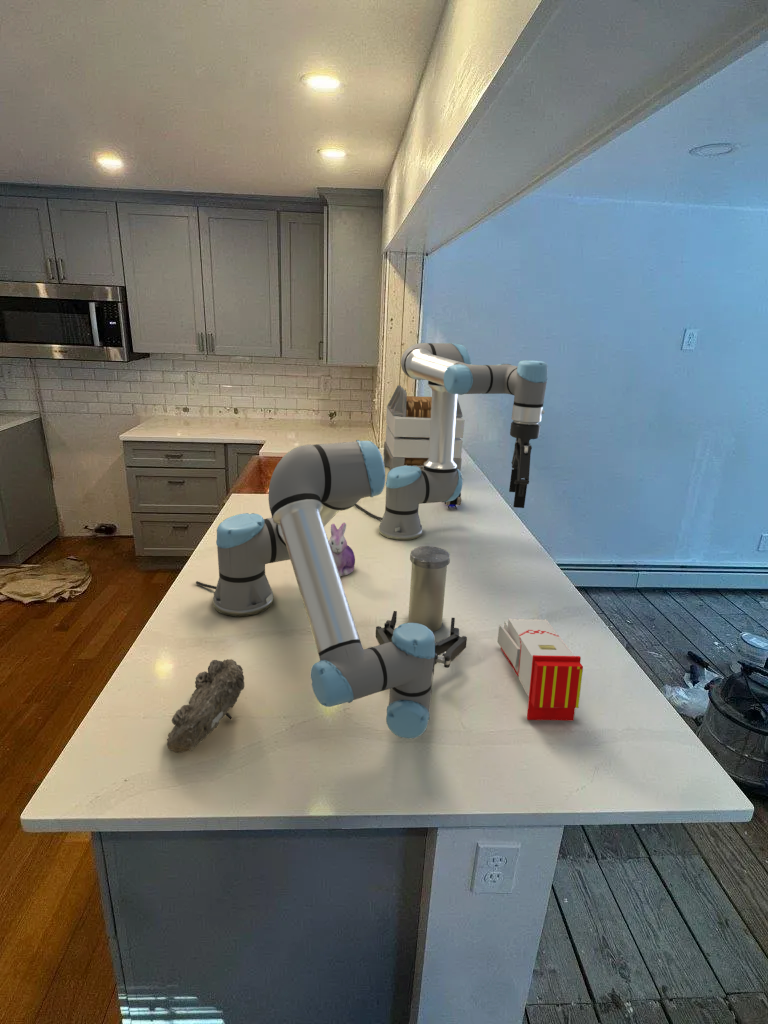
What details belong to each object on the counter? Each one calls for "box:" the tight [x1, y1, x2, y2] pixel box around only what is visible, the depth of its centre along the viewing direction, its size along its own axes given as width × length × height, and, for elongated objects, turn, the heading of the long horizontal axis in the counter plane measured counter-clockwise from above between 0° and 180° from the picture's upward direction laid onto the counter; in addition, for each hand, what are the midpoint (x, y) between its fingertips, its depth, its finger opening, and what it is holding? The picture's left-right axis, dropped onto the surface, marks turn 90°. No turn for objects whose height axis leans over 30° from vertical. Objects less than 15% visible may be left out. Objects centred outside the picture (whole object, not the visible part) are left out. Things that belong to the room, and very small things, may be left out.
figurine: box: [328, 522, 356, 577], centre depth 167 cm, size 9×10×15 cm
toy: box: [497, 618, 584, 722], centre depth 122 cm, size 12×13×30 cm
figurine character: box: [444, 491, 462, 510], centre depth 230 cm, size 7×8×15 cm
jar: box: [407, 562, 448, 633], centre depth 141 cm, size 9×9×19 cm
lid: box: [409, 545, 451, 569], centre depth 138 cm, size 10×10×2 cm
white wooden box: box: [383, 384, 465, 473], centre depth 268 cm, size 34×33×41 cm
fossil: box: [166, 658, 245, 754], centre depth 106 cm, size 22×10×15 cm
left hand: (423, 619), depth 133 cm, fingers open, 13 cm apart
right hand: (516, 499), depth 155 cm, fingers open, 13 cm apart
